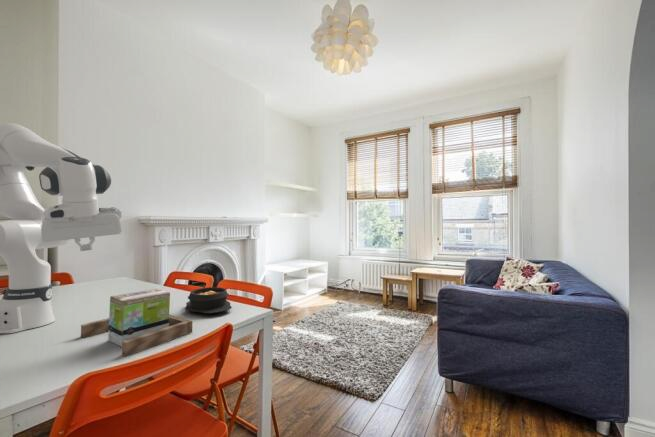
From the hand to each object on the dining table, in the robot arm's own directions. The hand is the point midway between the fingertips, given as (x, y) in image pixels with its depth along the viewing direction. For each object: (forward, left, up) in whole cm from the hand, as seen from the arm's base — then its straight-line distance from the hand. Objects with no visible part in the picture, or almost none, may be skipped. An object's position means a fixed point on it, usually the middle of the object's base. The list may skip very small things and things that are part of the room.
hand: (86, 250), depth 97 cm
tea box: (+17, -1, -30) cm, 34 cm away
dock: (+15, +1, -30) cm, 33 cm away
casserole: (+35, +26, -30) cm, 53 cm away
